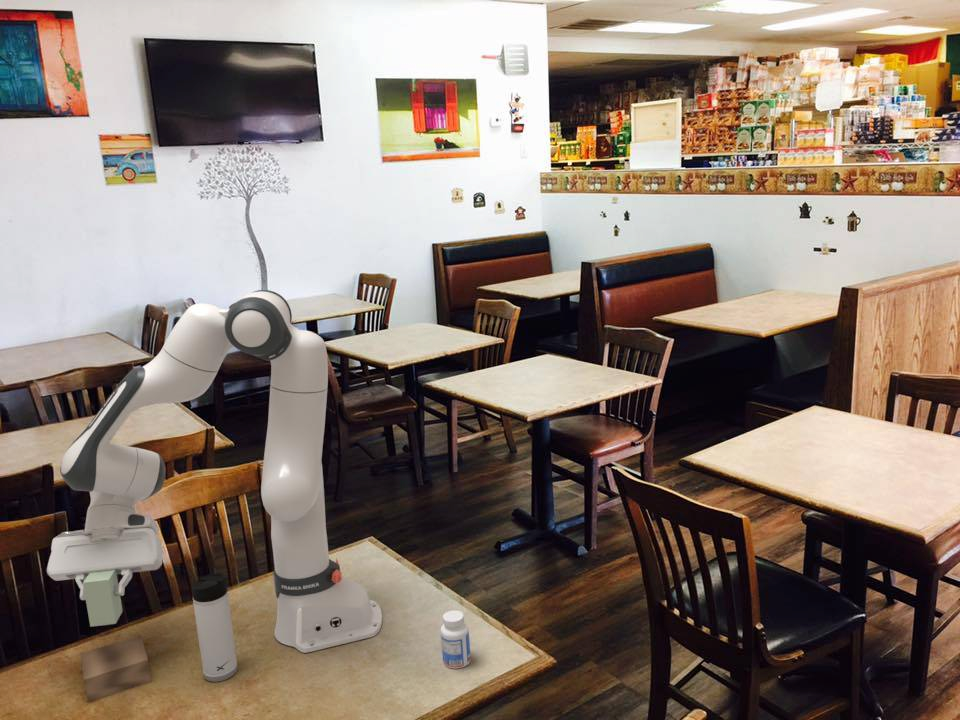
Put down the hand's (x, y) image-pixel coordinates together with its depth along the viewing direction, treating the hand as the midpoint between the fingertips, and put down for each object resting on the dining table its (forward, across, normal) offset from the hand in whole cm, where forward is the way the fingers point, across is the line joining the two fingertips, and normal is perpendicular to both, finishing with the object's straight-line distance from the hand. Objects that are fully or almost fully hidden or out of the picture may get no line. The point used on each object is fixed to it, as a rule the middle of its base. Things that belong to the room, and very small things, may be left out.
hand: (101, 597), depth 146 cm
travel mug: (+14, +20, +11) cm, 27 cm away
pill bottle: (+19, +65, +6) cm, 68 cm away
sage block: (+3, 0, +4) cm, 5 cm away
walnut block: (+12, 0, +13) cm, 18 cm away
